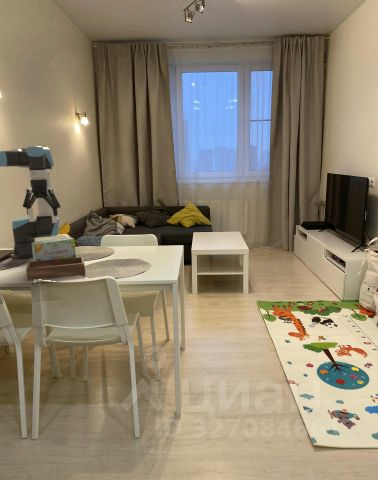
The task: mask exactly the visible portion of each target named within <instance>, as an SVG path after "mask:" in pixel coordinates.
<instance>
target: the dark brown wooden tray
mask: <svg viewBox="0 0 378 480" xmlns="http://www.w3.org/2000/svg"><path fill="white" fill-rule="evenodd" d="M84 259H85V258H84V256H76V257H74V258H64V259H53V260H43V261H33V260H32V261H28V263H27V266H26V270H25V271H26V278H27V281H28V282H29V281H35V280H34V279H39V280H45V279H54V278H55V279H56V278H65V277H66V278H67V277H73V276H74V277H75V276H83V275H86V267H85V266H86V265H85V260H84Z"/></svg>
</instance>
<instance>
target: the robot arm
mask: <svg viewBox="0 0 378 480" xmlns="http://www.w3.org/2000/svg"><path fill="white" fill-rule="evenodd" d="M1 167H3V168H6V167H7V168H8V167H12V168H13V167H18V168H26V169H27V168H28V173H29V178H30V181H29V182H30V187H31V188H30V187H29V188H26V190H25V191H26V192H25V193H26V194H25V197H24V201H23V203H22V207H23V208H26V214H27V216H26V217H21V218H16V219H14V220H13V221H12V222H11V224H12V225H11V229H12V234H13V242H14V246H13V251H12V258H13V257H14V258H13V259H17V258H24V259H31V258H33V251H32V242H36V239H38V238H39V239H41V238H42V239H43V238H51V237H57V236H59V234H60V232H59V231H60V217H58V209H59V208H61V205H60V203H59V200H58V198H57V197H56V195H55V192H54V189H53V188H52V184H51V177H50V175H51V172H52V170H53V168H54V167H55V164H54V160H53V156H52V152H51V149H50V148H49V147H43V146H42V145H41V146H40V145H35V146H34V145H33V146H32V145H30V146H29V145H28V146H26V147H18V148H14V149H11V150H0V168H1ZM35 202H36V203H37V210H38V213H37V214H36V215H35V217H36V218H35V217H34V209H33V205H34V203H35Z"/></svg>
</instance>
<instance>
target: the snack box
mask: <svg viewBox="0 0 378 480" xmlns="http://www.w3.org/2000/svg"><path fill="white" fill-rule="evenodd" d="M75 240H76V239H75V238H73V237H71V236H70V237H64V238H57V239H56V238H55V239H49V240H48V239H47V240H40V241H39V240H38V241H35V242H32V251H33V257H32V258H33V259H32V262H33V261H43V260H53V259H64V258H74V257H77V255H76V241H75Z"/></svg>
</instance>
